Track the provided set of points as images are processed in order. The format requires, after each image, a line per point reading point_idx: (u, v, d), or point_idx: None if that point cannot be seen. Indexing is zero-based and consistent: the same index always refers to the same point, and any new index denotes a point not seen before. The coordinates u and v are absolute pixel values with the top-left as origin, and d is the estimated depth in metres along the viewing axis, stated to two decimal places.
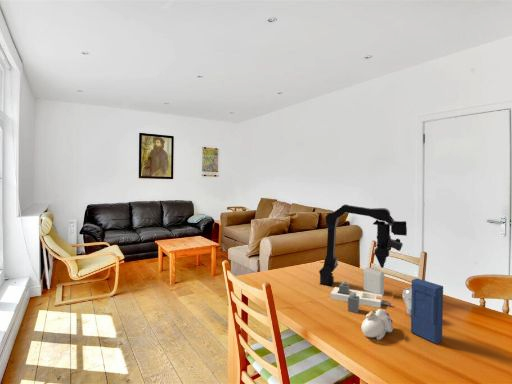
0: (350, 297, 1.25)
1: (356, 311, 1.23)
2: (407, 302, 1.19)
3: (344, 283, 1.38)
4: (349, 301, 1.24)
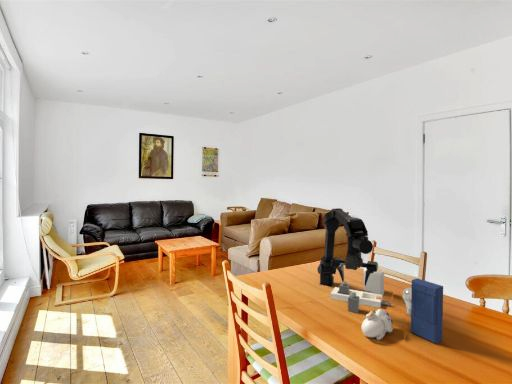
0: (350, 297, 1.25)
1: (356, 311, 1.23)
2: (407, 302, 1.19)
3: (344, 283, 1.38)
4: (349, 301, 1.24)
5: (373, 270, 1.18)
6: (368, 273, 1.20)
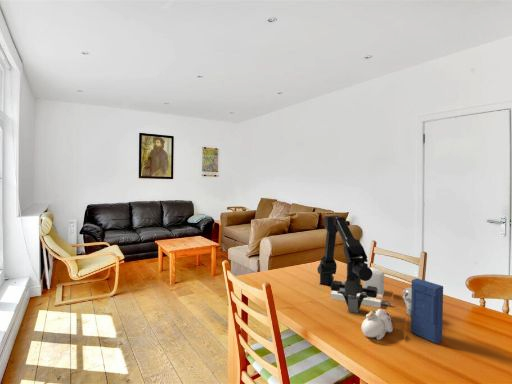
0: (350, 297, 1.25)
1: (356, 311, 1.23)
2: (407, 302, 1.19)
3: (344, 283, 1.38)
4: (349, 301, 1.24)
5: (372, 296, 1.19)
6: (361, 297, 1.22)
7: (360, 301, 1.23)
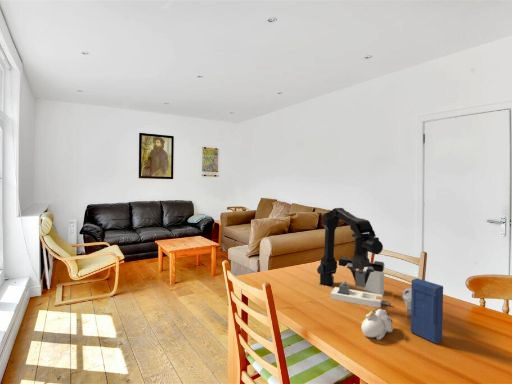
0: (357, 272, 1.29)
1: (363, 285, 1.27)
2: (407, 302, 1.19)
3: (344, 283, 1.38)
4: (356, 275, 1.28)
5: (379, 270, 1.22)
6: (368, 272, 1.25)
7: (367, 275, 1.26)
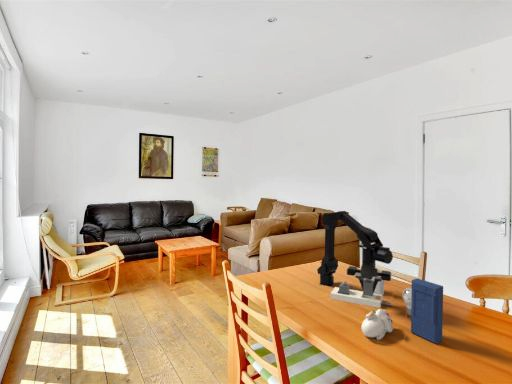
0: (365, 281, 1.33)
1: (371, 294, 1.31)
2: (407, 302, 1.19)
3: (344, 283, 1.38)
4: (364, 284, 1.32)
5: (387, 279, 1.27)
6: (376, 281, 1.30)
7: (375, 284, 1.31)
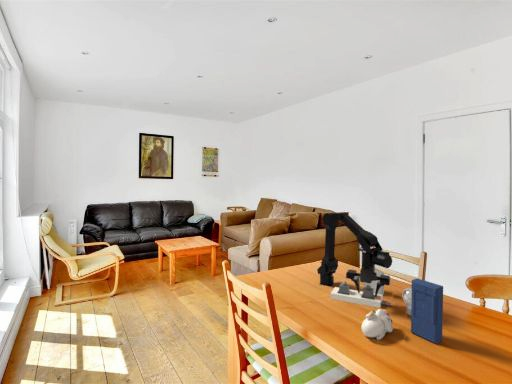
0: (365, 289, 1.33)
1: None
2: (407, 302, 1.19)
3: (344, 283, 1.38)
4: (364, 292, 1.33)
5: (386, 284, 1.27)
6: (379, 286, 1.29)
7: (377, 289, 1.31)
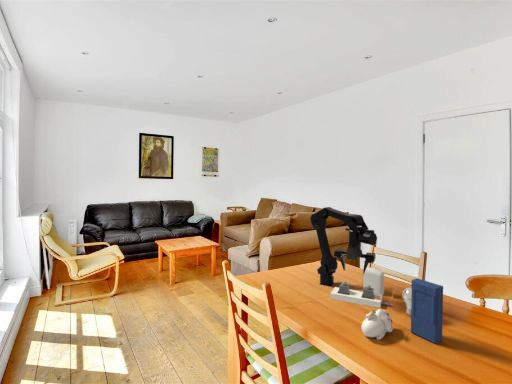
0: (365, 289, 1.33)
1: None
2: (407, 302, 1.19)
3: (344, 283, 1.38)
4: (364, 292, 1.33)
5: (371, 260, 1.34)
6: (366, 263, 1.36)
7: (365, 266, 1.38)
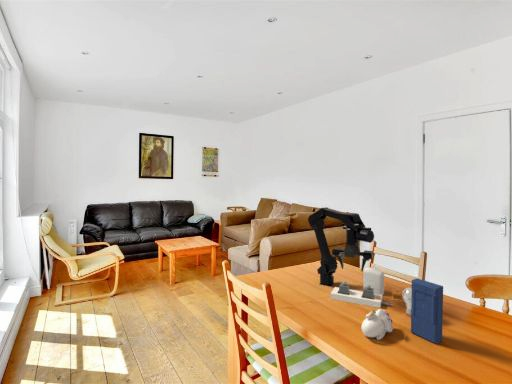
0: (365, 289, 1.33)
1: None
2: (407, 302, 1.19)
3: (344, 283, 1.38)
4: (364, 292, 1.33)
5: (368, 258, 1.36)
6: (364, 260, 1.37)
7: (363, 264, 1.39)
